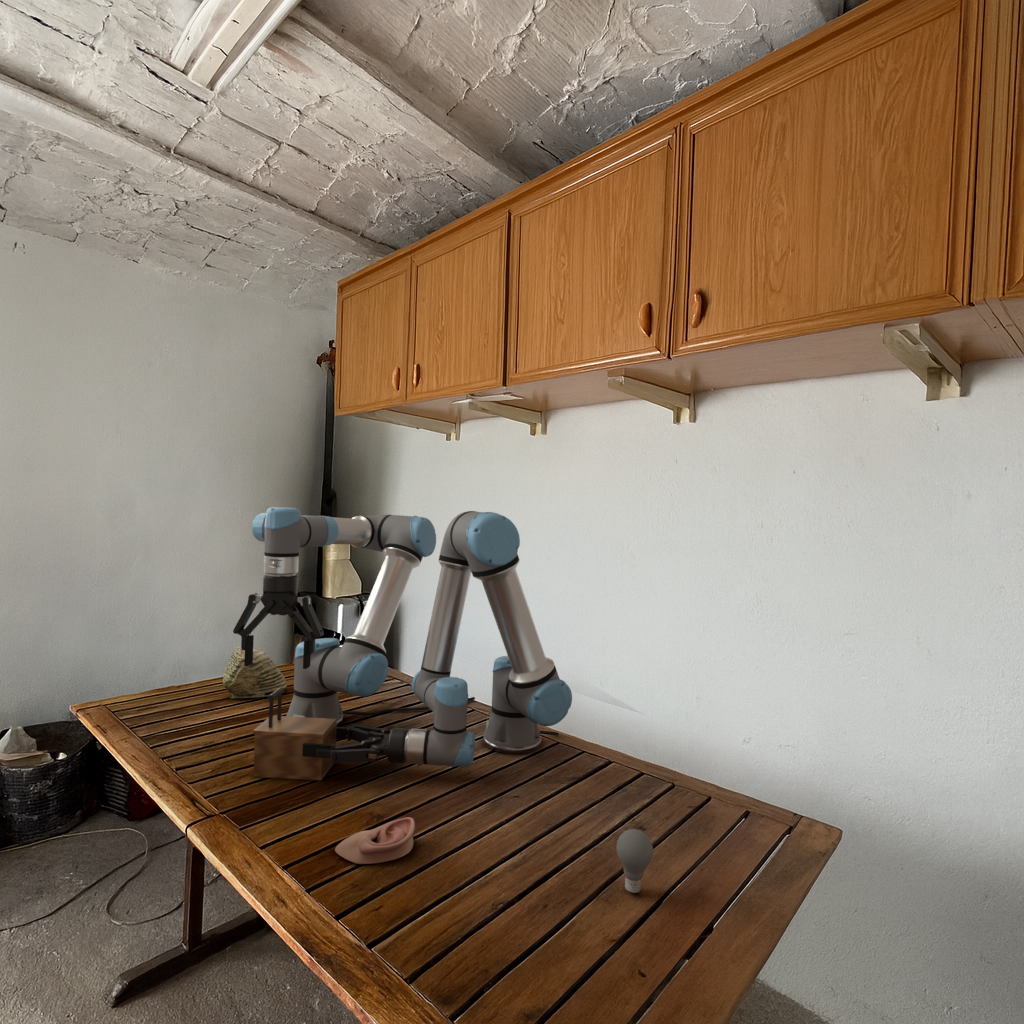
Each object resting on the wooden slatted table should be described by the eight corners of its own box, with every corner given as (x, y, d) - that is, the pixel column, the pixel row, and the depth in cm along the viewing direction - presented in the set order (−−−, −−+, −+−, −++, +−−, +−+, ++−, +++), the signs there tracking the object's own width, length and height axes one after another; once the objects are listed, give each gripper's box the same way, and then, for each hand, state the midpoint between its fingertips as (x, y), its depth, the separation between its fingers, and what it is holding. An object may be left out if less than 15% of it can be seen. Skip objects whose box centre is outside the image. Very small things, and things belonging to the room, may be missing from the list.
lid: (252, 734, 142) (253, 697, 141) (270, 718, 151) (272, 684, 151) (322, 738, 141) (324, 700, 141) (336, 722, 151) (337, 687, 151)
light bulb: (610, 879, 108) (613, 822, 108) (644, 879, 109) (647, 822, 109) (619, 902, 102) (622, 840, 102) (655, 901, 103) (658, 840, 103)
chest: (253, 776, 142) (254, 734, 142) (271, 758, 152) (273, 719, 151) (321, 780, 141) (322, 738, 141) (335, 762, 151) (336, 722, 151)
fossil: (218, 695, 195) (220, 647, 195) (278, 685, 208) (279, 640, 207) (228, 703, 189) (230, 653, 188) (289, 692, 201) (290, 645, 201)
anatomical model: (327, 836, 111) (356, 806, 122) (326, 858, 111) (355, 826, 122) (398, 848, 108) (421, 815, 119) (397, 871, 108) (420, 836, 119)
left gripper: (219, 573, 142) (216, 667, 143) (329, 578, 142) (325, 673, 142) (235, 570, 150) (232, 659, 150) (339, 575, 149) (336, 664, 150)
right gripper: (396, 784, 134) (292, 778, 135) (415, 743, 157) (326, 738, 158) (397, 748, 134) (293, 743, 135) (416, 713, 157) (327, 708, 157)
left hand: (277, 666), depth 146 cm, fingers open, 13 cm apart
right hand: (311, 740), depth 146 cm, fingers closed on chest, 10 cm apart
